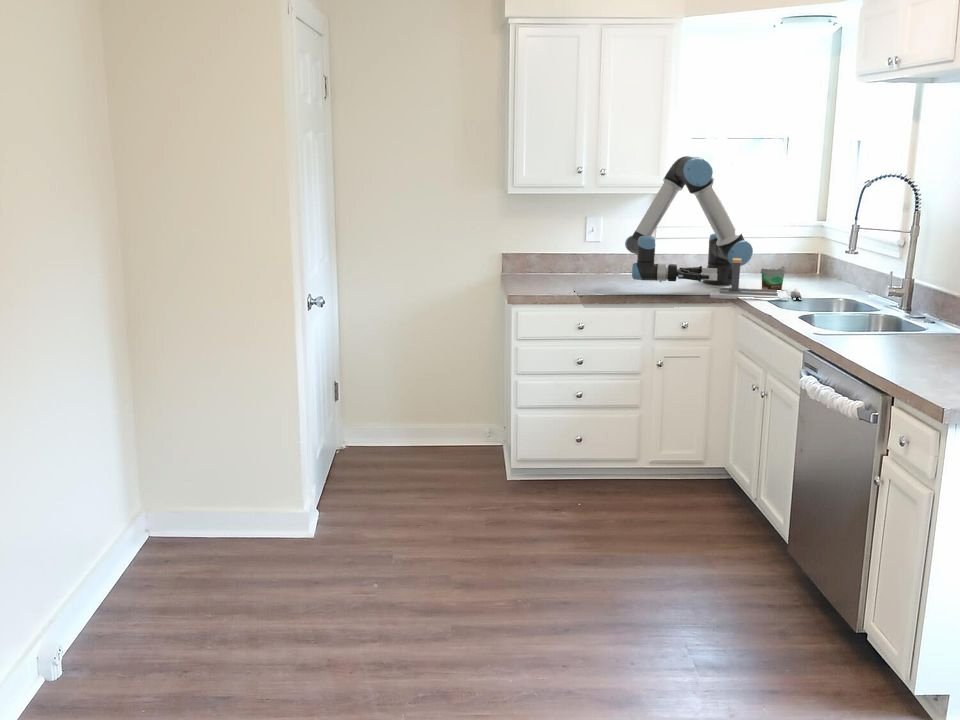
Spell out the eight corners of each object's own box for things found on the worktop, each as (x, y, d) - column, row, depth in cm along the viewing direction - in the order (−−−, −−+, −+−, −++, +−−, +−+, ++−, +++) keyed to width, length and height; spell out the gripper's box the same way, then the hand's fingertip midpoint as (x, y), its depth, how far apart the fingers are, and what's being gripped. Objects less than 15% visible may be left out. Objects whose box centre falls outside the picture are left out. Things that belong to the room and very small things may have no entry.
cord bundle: (790, 294, 385) (791, 288, 384) (799, 295, 384) (799, 288, 383) (792, 301, 372) (793, 294, 371) (801, 301, 371) (802, 294, 371)
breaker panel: (710, 291, 393) (710, 285, 392) (785, 294, 385) (785, 288, 384) (709, 297, 380) (710, 292, 379) (787, 301, 372) (788, 295, 371)
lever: (728, 290, 386) (730, 258, 382) (740, 290, 385) (742, 258, 381) (728, 292, 382) (731, 259, 378) (740, 292, 381) (743, 260, 377)
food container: (768, 293, 389) (770, 270, 386) (759, 290, 394) (760, 268, 391) (790, 290, 393) (792, 268, 390) (781, 288, 398) (783, 266, 396)
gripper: (668, 275, 401) (716, 277, 396) (665, 286, 378) (716, 288, 373) (669, 259, 399) (717, 261, 394) (666, 269, 376) (717, 270, 371)
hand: (717, 274), depth 383 cm, fingers open, 13 cm apart
